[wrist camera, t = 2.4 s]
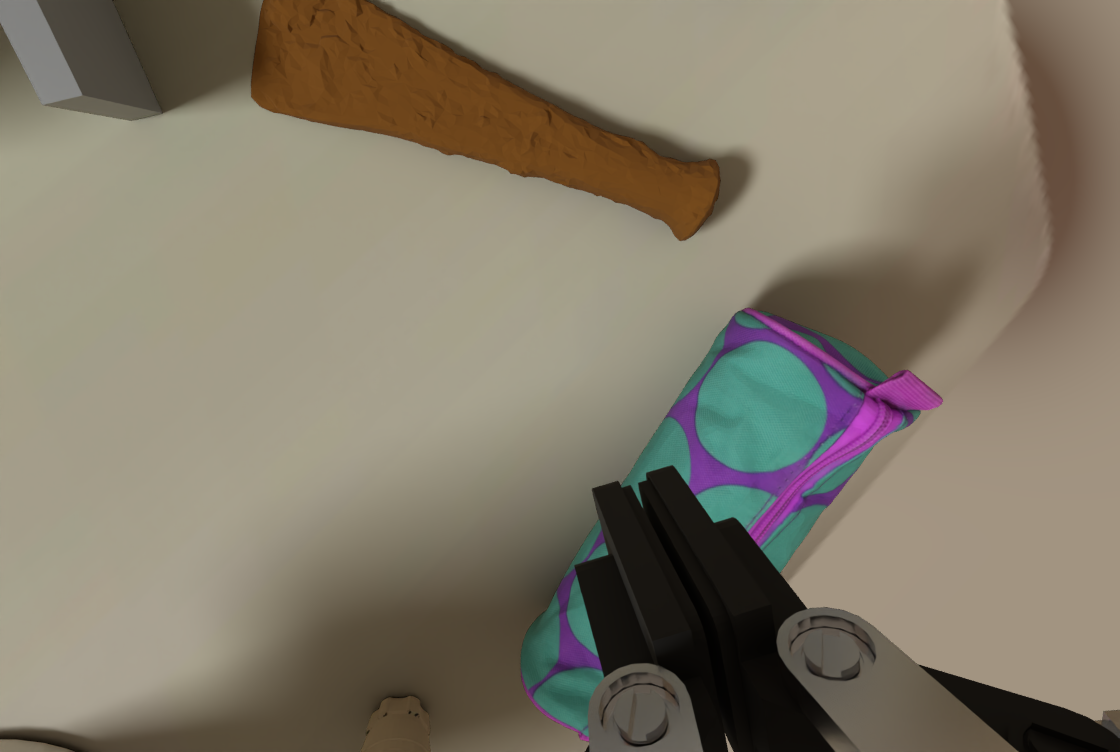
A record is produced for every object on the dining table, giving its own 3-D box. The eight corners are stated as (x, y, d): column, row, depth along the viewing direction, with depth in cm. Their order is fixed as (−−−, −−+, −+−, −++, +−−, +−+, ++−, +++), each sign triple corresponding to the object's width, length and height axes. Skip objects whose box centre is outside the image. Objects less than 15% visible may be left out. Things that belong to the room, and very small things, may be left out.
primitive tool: (251, 104, 23) (216, 91, 20) (274, -49, 22) (241, -90, 18) (682, 243, 28) (713, 251, 24) (724, 125, 26) (762, 116, 23)
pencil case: (638, 650, 35) (699, 814, 26) (507, 604, 32) (525, 769, 23) (841, 353, 30) (1000, 426, 21) (710, 273, 28) (827, 317, 19)
